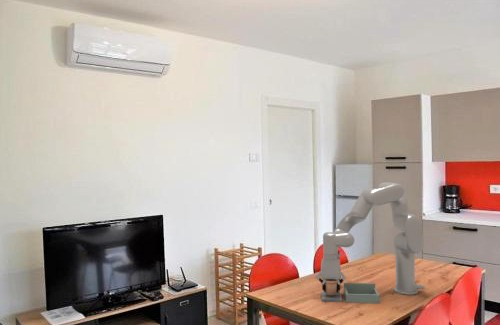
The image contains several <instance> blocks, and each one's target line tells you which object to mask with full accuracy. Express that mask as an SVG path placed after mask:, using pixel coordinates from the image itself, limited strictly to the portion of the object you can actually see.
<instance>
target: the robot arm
mask: <svg viewBox="0 0 500 325" xmlns="http://www.w3.org/2000/svg"><path fill="white" fill-rule="evenodd" d="M386 204H390V207H391V214H392V221H393V225H394V227H395V229H397V230H399V232H397V233H396V234H395V235H394V237H393V247H394V254H395V286H393V287H392V290H393V291H394V292H395V293H396V294H400V295H407V296H410V295H411V296H412V295H417V294H419V289H421V290H424V289H425V288H426V287H425V285H424V284H423V285H422V284H420V283H419V284H417V283H416V273H415V272H416V268H415V261H416V260H415V255H416V254H417V255H418V254H420V253H421V252H422V251H423V249H424V247H425V246H424V245H425V242H424V241H425V240H424V234H423V233H424V232H423V228H422V226H423V225H422V222H421V220H420V218H419V217H418V216H417V215H416V214H412V213H410V209H409V205H408V201H407V198H406V196H405V188H404V186H403V185H401V184H400V183H396V182H387V181H385V182H382V183H379V185H378V186H377V188H364V189H363V190H362V191H361V193H360V194H359V196H358V198H357V199H356V201H355V203H354V205H353V206H352V208H351V209H350V211H349V212H347V214H346V215H345V216H344V217H343V218H341V220H340V221H339V222H338V224H337V226H336V227H335V228H334V231H331V232H330V231H328V232H324V233H323V235H322V242H323V243H322V246H323V247H322V250H323V252H322V253H323V254H322V255H323V256H322V257H323V258H321V262H320V271H319V272H318V273H317V274H316V276H315V278H316V279H317V281H319V282H320V284H321V285H322V291H323V292H326V290H325V280H326V279H336V280H337V281H338V283H337V292H338V293H339V292H341V289H340V288H341V284H342V283H344V281H345V280H347V276H346V275H345V274H344V273H343V272H342V269H341V268H342V266H341V261H340V260H339V259H338V258H339V257H340V258H341V257H342V254H340V255H339V254H338V250H339V248H351V247H352V246H353V245H354V244H355V236H354V235H353V234H351V233H350V231H351V229H353V227H354V226H356V225H357V224H359V223H362V222H365V220H366V219H367V217H368V215H369V214H370V212H371V211H372V209H373V207H374V206H375V207H377V206H378V207H379V206H383V205H386ZM339 279H340V280H339Z"/></svg>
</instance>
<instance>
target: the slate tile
mask: <svg viewBox="0 0 500 325" xmlns="http://www.w3.org/2000/svg"><path fill="white" fill-rule="evenodd" d="M320 296H321V302H328V303H329V302H334V303H342V302H343V298H342V294H341V291H339V293H338V292H337V294H336V295H327V294H325V292H324V291H320Z"/></svg>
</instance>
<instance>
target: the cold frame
mask: <svg viewBox="0 0 500 325" xmlns="http://www.w3.org/2000/svg"><path fill="white" fill-rule="evenodd" d="M343 296H344V299H345V302H346V303H354V304H355V303H356V304H358V303H359V304H380V300H381V299H380V296H381V295H380V293H379V291H378V290H377V288H376V283H374V282H373V283H371V282H370V283H369V282H343Z"/></svg>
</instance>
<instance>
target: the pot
mask: <svg viewBox="0 0 500 325" xmlns="http://www.w3.org/2000/svg"><path fill="white" fill-rule="evenodd" d="M337 283H338V281H337V280H336V279H326V280H325V290H326V292H325V294H327V295H336V294H337Z"/></svg>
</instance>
